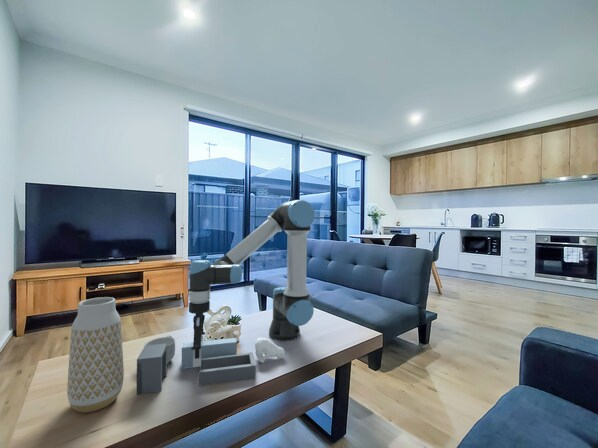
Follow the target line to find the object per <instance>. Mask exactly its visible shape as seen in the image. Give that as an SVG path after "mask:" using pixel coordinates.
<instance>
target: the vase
mask: <svg viewBox="0 0 598 448" xmlns="http://www.w3.org/2000/svg"><path fill="white" fill-rule="evenodd" d="M122 329H123V328H122V318H121V316H120V314H119V312H118V311H117V309H116V299H115V298H114V297H113V296H112V297H111V296H110V297H109V296H104V297H103V296H102V297H101V296H100V297H94V298H89V299H84V300H81V301H80V302H78V304H77V315H76V317H75V318H74V321H73V322H72V324H71V332H70V340H69V343H70V344H69V356H68V357H69V358H68V370H67V371H68V372H67V383H66V385H67V386H66V387H67V390H66V393H67V394H66V395H67V400H68V403H69V405H70V407H71V408H72V409H73V410H74V411H76V412H77V413H84V414H85V413H93V412H96V411H99V410H102V409H104V408H106V407H107V406H109V405H111V404H112V403H113V402H114V401H115V400H116V399H117V397H118V396H119V395H120V393H121V391H122V389H123V385H124V378H125V377H124V376H125V373H124V371H125V368H124V350H123V348H124V347H123V333H122V332H123V331H122Z"/></svg>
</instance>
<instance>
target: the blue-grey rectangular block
mask: <svg viewBox="0 0 598 448" xmlns="http://www.w3.org/2000/svg"><path fill="white" fill-rule="evenodd" d="M193 342H194V341H192V342H190V341H189V342H183V343H182V345H181V369H188V368H194V367H193V350H191V348H192V347H193ZM237 344H238V342H237V337H232V338H222V339H221V338H220V339H213V340H203V341H201V358H206V357H215V356H224V355H233V354H238V352H237V351H238V349H237V348H238V347H237ZM196 346H197V345H196Z"/></svg>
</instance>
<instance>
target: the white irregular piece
mask: <svg viewBox="0 0 598 448" xmlns="http://www.w3.org/2000/svg"><path fill="white" fill-rule="evenodd" d="M254 345H255V346H254V347H255V356H256V358H257V360H258V362H259V363H261V364H263V363H264V360H267V359H269V358H272V357H276V359H277V360H280V359H282V358H283V356H285V350H284V348H283V347H280V346H277V345H276V344H275V343H274V342H273V341H272V340H270V339H269V338H267V337H259V338H257V339H256V340H255V342H254Z"/></svg>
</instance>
